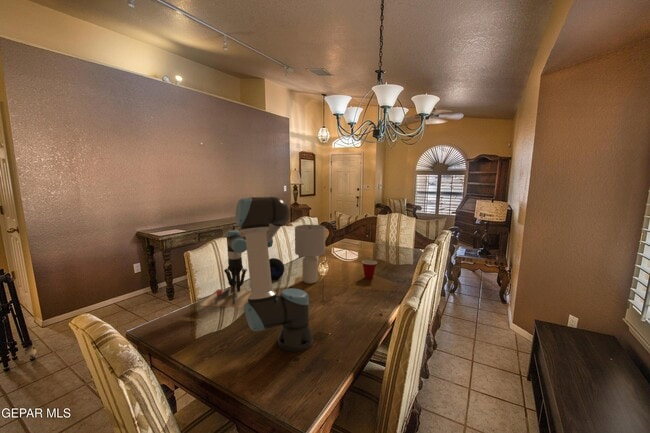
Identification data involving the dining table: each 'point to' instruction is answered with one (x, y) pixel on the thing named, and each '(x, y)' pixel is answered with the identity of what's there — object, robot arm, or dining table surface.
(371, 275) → the plastic cup
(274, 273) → the decorative sphere
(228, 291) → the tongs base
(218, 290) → the tab
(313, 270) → the lamp
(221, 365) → the dining table surface
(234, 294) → the grey lever with knob
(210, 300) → the board
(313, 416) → the dining table surface
